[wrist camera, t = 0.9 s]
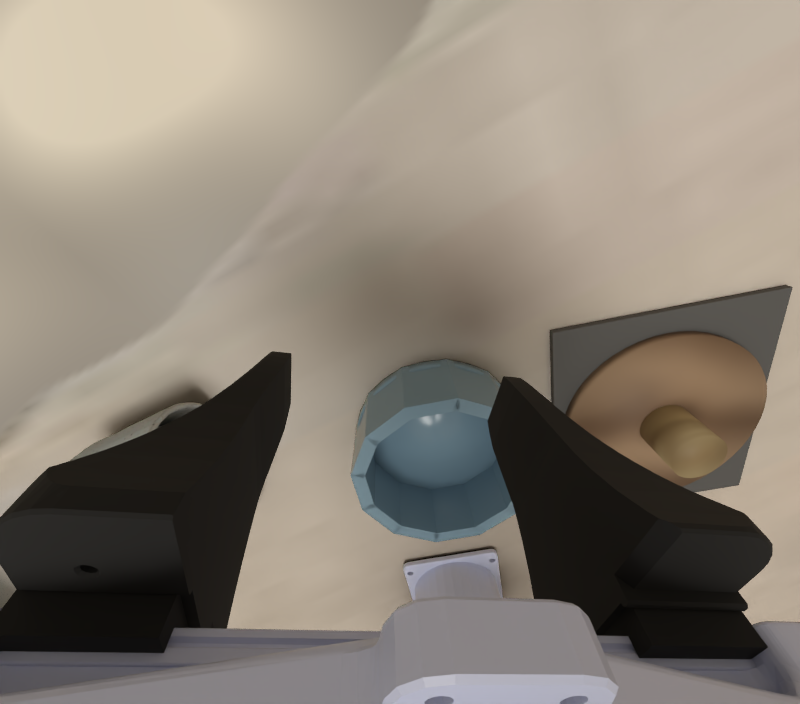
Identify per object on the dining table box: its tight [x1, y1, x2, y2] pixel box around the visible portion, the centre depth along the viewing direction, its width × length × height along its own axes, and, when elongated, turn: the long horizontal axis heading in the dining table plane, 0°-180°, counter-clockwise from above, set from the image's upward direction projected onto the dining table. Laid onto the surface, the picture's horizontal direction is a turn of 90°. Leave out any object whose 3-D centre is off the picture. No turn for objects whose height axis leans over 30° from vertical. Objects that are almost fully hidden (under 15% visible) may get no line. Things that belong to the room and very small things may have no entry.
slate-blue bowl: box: [351, 359, 516, 542], centre depth 24 cm, size 11×11×4 cm
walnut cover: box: [565, 331, 767, 487], centre depth 24 cm, size 13×13×4 cm
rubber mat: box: [550, 285, 792, 492], centre depth 26 cm, size 16×14×1 cm
